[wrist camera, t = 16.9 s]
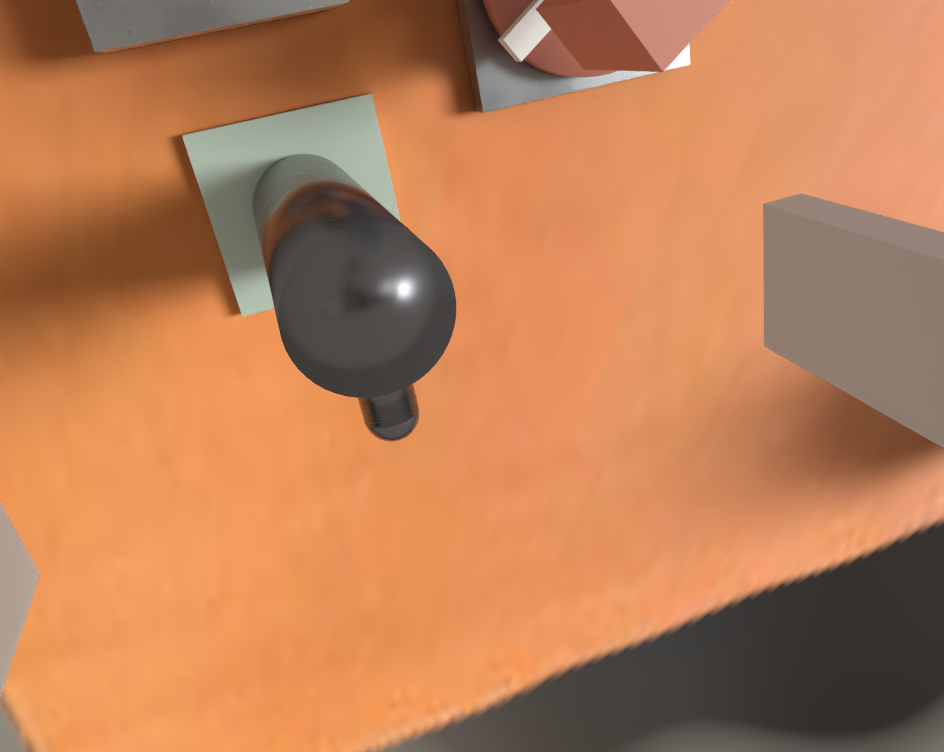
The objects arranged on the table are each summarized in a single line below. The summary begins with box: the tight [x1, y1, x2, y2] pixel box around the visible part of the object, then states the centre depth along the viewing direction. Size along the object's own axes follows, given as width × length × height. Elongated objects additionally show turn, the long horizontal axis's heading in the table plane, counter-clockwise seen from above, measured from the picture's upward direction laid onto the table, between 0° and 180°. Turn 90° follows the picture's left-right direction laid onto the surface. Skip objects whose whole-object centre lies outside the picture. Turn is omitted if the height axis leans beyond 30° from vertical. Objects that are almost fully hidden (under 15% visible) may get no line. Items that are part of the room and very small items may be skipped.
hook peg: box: [253, 154, 456, 441], centre depth 24 cm, size 6×4×14 cm
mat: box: [182, 93, 401, 317], centre depth 30 cm, size 7×7×1 cm
